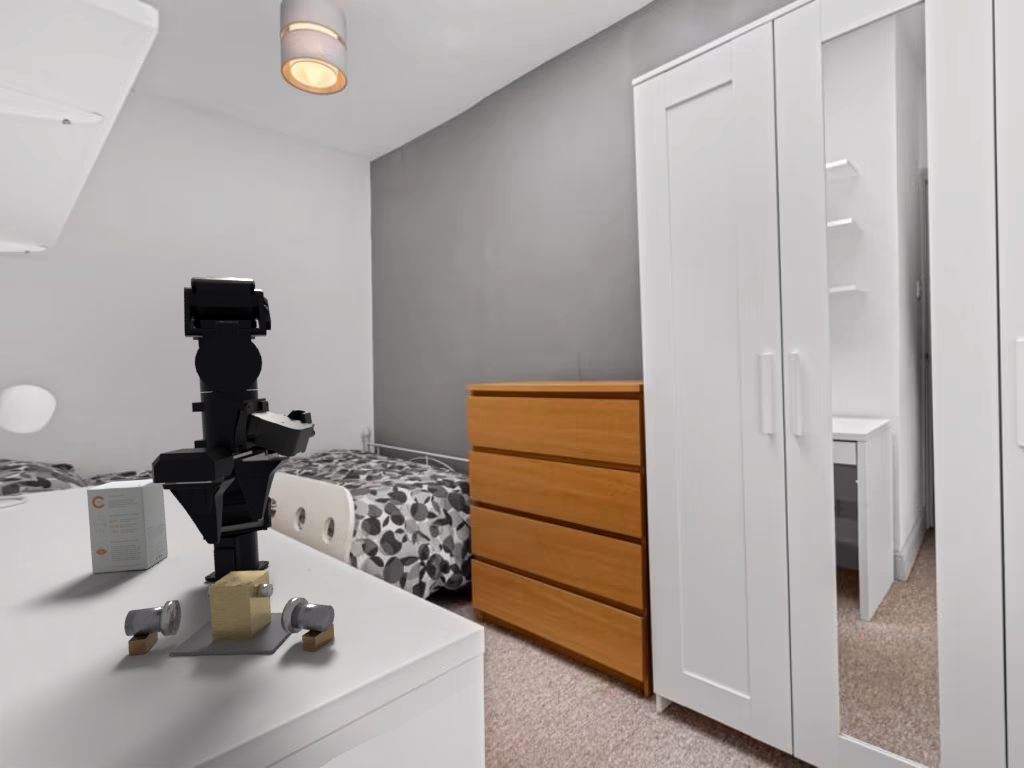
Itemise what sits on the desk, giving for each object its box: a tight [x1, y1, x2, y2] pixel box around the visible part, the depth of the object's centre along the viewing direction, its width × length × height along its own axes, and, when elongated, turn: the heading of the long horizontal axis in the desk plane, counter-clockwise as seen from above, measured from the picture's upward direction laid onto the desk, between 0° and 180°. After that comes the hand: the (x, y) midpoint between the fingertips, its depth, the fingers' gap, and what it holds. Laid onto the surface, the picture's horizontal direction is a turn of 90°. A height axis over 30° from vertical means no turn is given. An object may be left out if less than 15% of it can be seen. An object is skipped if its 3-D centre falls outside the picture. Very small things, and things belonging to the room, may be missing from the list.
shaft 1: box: [124, 599, 182, 656], centre depth 60 cm, size 4×4×5 cm
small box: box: [86, 478, 169, 574], centre depth 87 cm, size 8×6×13 cm
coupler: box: [207, 570, 274, 641], centre depth 62 cm, size 4×7×6 cm, turn 88°
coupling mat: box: [169, 612, 291, 656], centre depth 62 cm, size 9×11×1 cm
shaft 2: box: [281, 596, 335, 652], centre depth 59 cm, size 4×4×5 cm
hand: (237, 530), depth 62 cm, fingers open, 9 cm apart
